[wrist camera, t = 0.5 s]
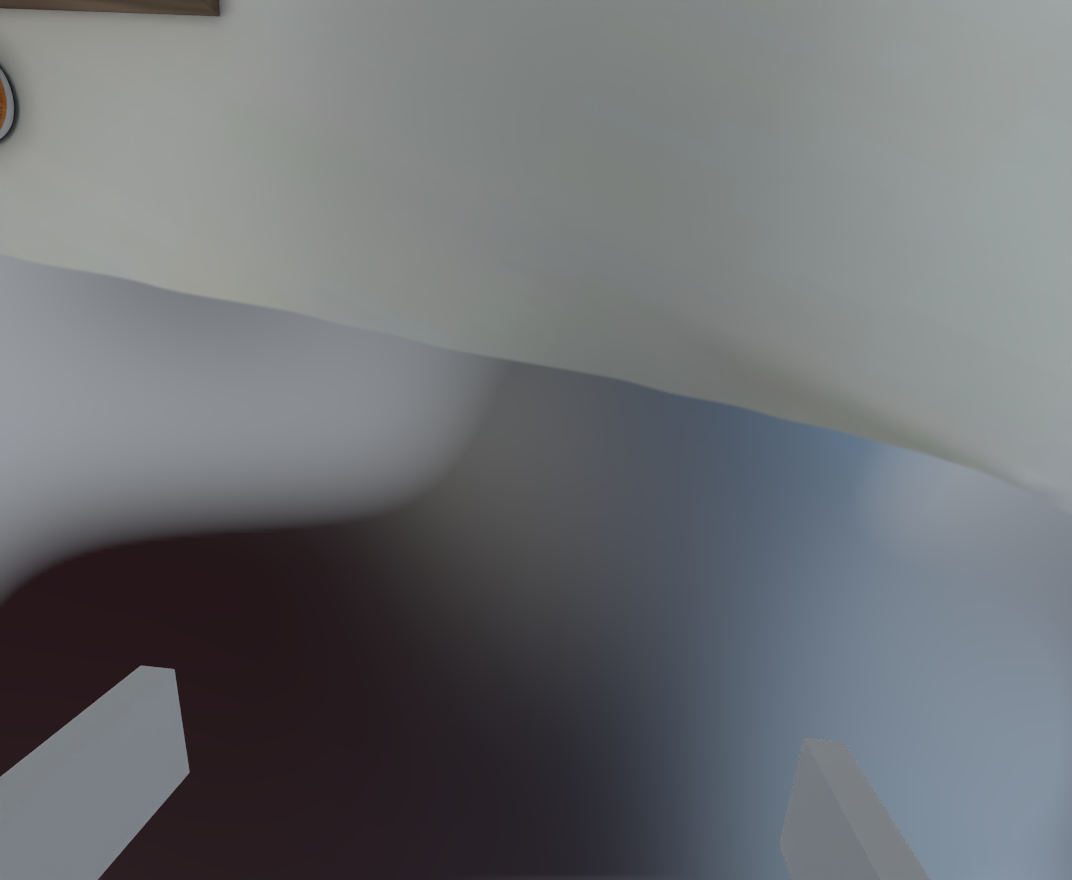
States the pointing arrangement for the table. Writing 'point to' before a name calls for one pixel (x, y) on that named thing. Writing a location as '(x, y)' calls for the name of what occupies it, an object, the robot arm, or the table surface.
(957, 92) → the table surface
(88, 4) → the divider rail
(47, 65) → the table surface
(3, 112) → the pill bottle
